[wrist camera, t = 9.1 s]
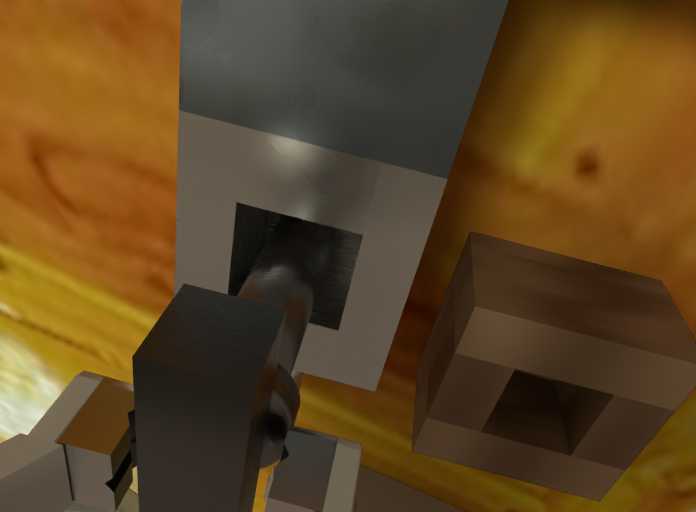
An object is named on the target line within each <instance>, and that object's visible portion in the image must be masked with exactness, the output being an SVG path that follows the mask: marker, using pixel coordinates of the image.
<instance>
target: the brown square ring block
mask: <svg viewBox="0 0 696 512" xmlns="http://www.w3.org/2000/svg"><path fill="white" fill-rule="evenodd" d="M695 387H696V340H695V339H694V337H693V335H692V333H691V332H690V330H689V328H688V326H687V325H686V323H685V321H684V319H683V318H682V316H681V314H680V312H679V311H678V309H677V307H676V306H675V304H674V302H673V300H672V299H671V297H670V295H669V293H668V292H667V290H666V288H665V286H664V285H663V283H662V281H660V280H656V279H652V278H648V277H644V276H640V275H637V274H633V273H629V272H625V271H621V270H617V269H613V268H610V267H606V266H602V265H598V264H594V263H590V262H586V261H582V260H579V259H575V258H571V257H567V256H563V255H559V254H555V253H551V252H548V251H544V250H540V249H536V248H532V247H528V246H524V245H521V244H517V243H513V242H509V241H505V240H501V239H497V238H493V237H490V236H486V235H482V234H478V233H474V232H470V234H469V236H468V239H467V241H466V244H465V246H464V249H463V251H462V254H461V257H460V259H459V262H458V264H457V267H456V269H455V272H454V274H453V277H452V280H451V282H450V285H449V287H448V290H447V292H446V295H445V297H444V300H443V302H442V305H441V308H440V310H439V313H438V315H437V318H436V320H435V323H434V325H433V328H432V331H431V333H430V336H429V338H428V341H427V343H426V346H425V348H424V351H423V353H422V356H421V359H420V361H419V364H418V366H417V380H416V395H415V409H414V424H413V438H412V452H416V453H420V454H423V455H427V456H431V457H435V458H438V459H442V460H446V461H449V462H453V463H457V464H461V465H464V466H468V467H472V468H476V469H479V470H483V471H487V472H491V473H494V474H498V475H502V476H506V477H509V478H513V479H517V480H521V481H524V482H528V483H532V484H536V485H539V486H543V487H547V488H551V489H554V490H558V491H562V492H565V493H569V494H573V495H577V496H580V497H584V498H588V499H592V500H595V501H599V502H600V500H601V499H602V498H603V497H604V496H605V495H606V493H607V492H608V491H609V490H610V489H611V487H612V486H613V485H614V484H615V483H616V481H617V480H618V479H619V478H620V477H621V475H622V474H623V473H624V472H625V471H626V469H627V468H628V467H629V466H630V465H631V463H632V462H633V461H634V460H635V459H636V457H637V456H638V455H639V454H640V453H641V451H642V450H643V449H644V448H645V447H646V446H647V444H648V443H649V442H650V441H651V440H652V438H653V437H654V436H655V435H656V434H657V432H658V431H659V430H660V429H661V428H662V426H663V425H664V424H665V423H666V422H667V420H668V419H669V418H670V417H671V416H672V414H673V413H674V412H675V411H676V410H677V408H678V407H679V406H680V405H681V404H682V402H683V401H684V400H685V399H686V398H687V397H688V395H689V394H690V393H691V392H692V391H693V389H694V388H695Z"/></svg>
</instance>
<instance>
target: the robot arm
mask: <svg viewBox="0 0 696 512" xmlns="http://www.w3.org/2000/svg"><path fill="white" fill-rule="evenodd" d="M361 454H362V444H361V443H357V442H353V441H349V440H345V439H341V438H337V437H336V436H332V435H328V434H324V433H320V432H316V431H312V430H308V429H304V428H300V427H296V426H292V425H290V427H289V430H288V433H287V436H286V439H285V442H284V446H283V451H282V456H281V460H280V463H279V464H278V465H277V468H276V471H275V475H274V478H273V481H272V485H271V488H270V491H269V495H268V498H267V503H266V508H265V512H352V511H353V504H354V498H355V492H356V485H357V479H358V473H359V467H360V460H361ZM136 466H137V452H136V429H135V406H134V384H130V383H127V382H123V381H120V380H116V379H113V378H109V377H106V376H102V375H99V374H95V373H91V372H87V371H82V372H81V373H80V374H78V375H77V376H75V377H74V379H73V380H72V381H71V382H70V384H69V385H68V386H67V387H66V389H65V390H64V391H63V392H62V394H61V395H60V396H59V397H58V398H57V400H56V401H55V402H54V403H53V405H52V406H51V407H50V408H49V410H48V411H47V412H46V413H45V415H44V416H43V417H42V418H41V419H40V421H39V422H38V423H37V424H36V426H35V427H34V428H33V429H32V431H31V432H30V433H29V434H28V435H25V434H18V435H16V436H14V437H12V438H10V439H8V440H6V441H4V442H2V443H0V512H63V511H65V510H66V509H68V508H69V507H70V506H72V505H73V502H76V503H80V504H84V505H88V506H93V507H97V508H101V509H105V510H109V511H114V512H116V510H117V509H118V507H119V505H120V503H121V501H122V500H123V498H124V496H125V494H126V493H127V491H128V489H129V487H130V485H131V484H132V482H133V475H132V468H134V467H136Z"/></svg>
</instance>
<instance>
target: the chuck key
mask: <svg viewBox="0 0 696 512" xmlns="http://www.w3.org/2000/svg"><path fill="white" fill-rule="evenodd" d="M338 232H339V229H338V228H334V227H330V226H327V225H323V224H319V223H315V222H311V221H307V220H303V219H300V218H296V217H292V216H288V215H284V214H281V216H280V218H279V220H278V222H277V223H276V225H275V227H274V229H273V231H272V233H271V235H270V236H269V238H268V240H267V242H266V244H265V246H264V248H263V249H262V251H261V253H260V255H259V257H258V259H257V260H256V262H255V264H254V266H253V268H252V270H251V272H250V273H249V275H248V277H247V279H246V281H245V283H244V285H243V286H242V288H241V290H240V292H239V294H238V296H237V297H236V296H232V295H228V294H224V293H221V292H217V291H213V290H209V289H205V288H201V287H197V286H193V285H189V284H185V283H184V284H183V285H182V287H181V288H180V290H179V291H178V293H177V294H176V295H175V297H174V298H173V300H172V301H171V303H170V304H169V305H168V307H167V308H166V310H165V311H164V313H163V314H162V315H161V317H160V318H159V320H158V321H157V322H156V324H155V325H154V327H153V328H152V330H151V331H150V332H149V334H148V335H147V337H146V338H145V340H144V341H143V342H142V344H141V345H140V347H139V348H138V350H137V351H136V352H135V354H134V355H133V357H132V359H133V383H134V406H135V429H136V452H137V475H138V498H139V512H252V509H253V503H254V498H255V492H256V486H257V480H258V474H259V469H260V468H264V467H267V466H269V465H271V464H273V463H275V462H276V461H278V460H279V459H280V458H281V456H282V451H283V446H284V442H285V439H286V436H287V433H288V430H289V427H290V425H292V426H294V423H295V420H296V417H297V413H298V410H299V406H300V394H299V390H298V387H297V385H296V383H295V381H294V380H293V378H292V376H291V374H292V371H293V368H294V365H295V362H296V359H297V356H298V353H299V350H300V346H301V343H302V340H303V337H304V334H305V331H306V328H307V325H308V322H309V319H310V316H311V313H312V310H313V307H314V304H315V301H316V298H317V295H318V292H319V289H320V286H321V283H322V280H323V277H324V274H325V271H326V268H327V265H328V262H329V259H330V256H331V253H332V250H333V247H334V244H335V241H336V238H337V235H338Z"/></svg>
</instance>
